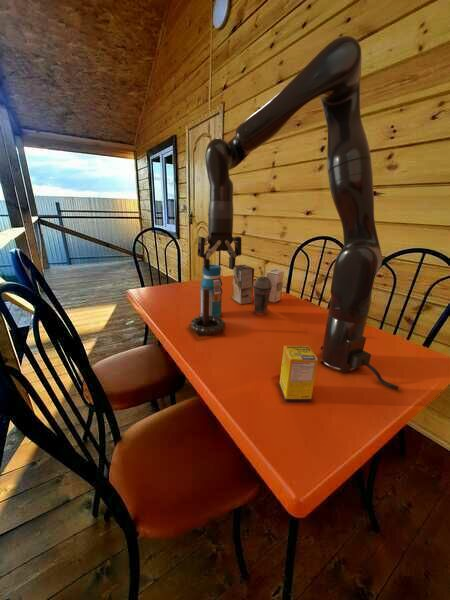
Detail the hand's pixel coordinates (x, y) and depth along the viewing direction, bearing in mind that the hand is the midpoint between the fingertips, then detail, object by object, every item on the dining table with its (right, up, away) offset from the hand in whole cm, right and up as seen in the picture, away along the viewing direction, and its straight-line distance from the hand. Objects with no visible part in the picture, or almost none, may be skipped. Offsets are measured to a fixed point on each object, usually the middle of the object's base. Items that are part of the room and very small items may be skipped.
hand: (219, 269), depth 82 cm
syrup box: (+24, -10, +39) cm, 47 cm away
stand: (-5, -21, +5) cm, 22 cm away
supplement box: (+18, -32, -23) cm, 43 cm away
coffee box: (+10, -10, +37) cm, 40 cm away
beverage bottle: (-4, -16, +18) cm, 25 cm away
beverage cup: (+16, -16, +23) cm, 32 cm away
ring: (-4, -18, +4) cm, 19 cm away
